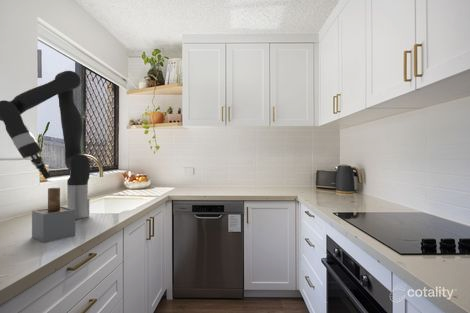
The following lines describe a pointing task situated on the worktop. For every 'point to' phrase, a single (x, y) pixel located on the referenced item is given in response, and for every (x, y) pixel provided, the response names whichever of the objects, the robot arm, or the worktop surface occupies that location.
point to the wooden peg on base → (53, 201)
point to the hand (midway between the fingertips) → (47, 177)
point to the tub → (53, 224)
